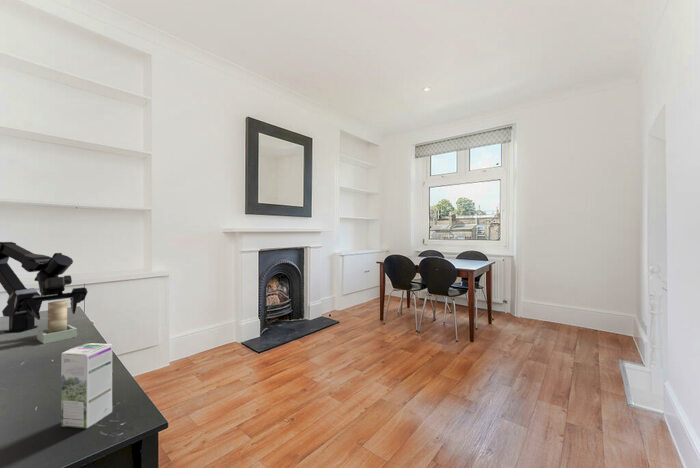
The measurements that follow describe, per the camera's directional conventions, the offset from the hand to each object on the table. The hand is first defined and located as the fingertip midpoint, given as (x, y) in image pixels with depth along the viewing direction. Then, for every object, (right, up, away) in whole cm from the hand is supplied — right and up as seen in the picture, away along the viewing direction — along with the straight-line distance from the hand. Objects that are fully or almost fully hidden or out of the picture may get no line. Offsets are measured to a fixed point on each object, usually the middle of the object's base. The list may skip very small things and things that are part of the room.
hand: (57, 316), depth 107 cm
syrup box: (+54, -8, -48) cm, 72 cm away
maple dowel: (0, -8, 0) cm, 8 cm away
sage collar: (0, -8, 0) cm, 8 cm away
